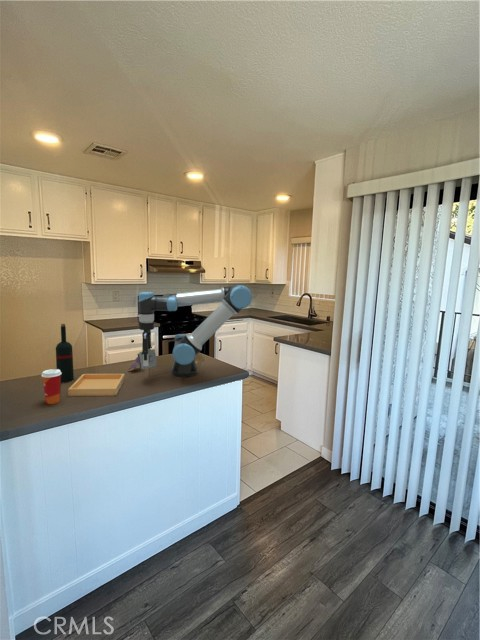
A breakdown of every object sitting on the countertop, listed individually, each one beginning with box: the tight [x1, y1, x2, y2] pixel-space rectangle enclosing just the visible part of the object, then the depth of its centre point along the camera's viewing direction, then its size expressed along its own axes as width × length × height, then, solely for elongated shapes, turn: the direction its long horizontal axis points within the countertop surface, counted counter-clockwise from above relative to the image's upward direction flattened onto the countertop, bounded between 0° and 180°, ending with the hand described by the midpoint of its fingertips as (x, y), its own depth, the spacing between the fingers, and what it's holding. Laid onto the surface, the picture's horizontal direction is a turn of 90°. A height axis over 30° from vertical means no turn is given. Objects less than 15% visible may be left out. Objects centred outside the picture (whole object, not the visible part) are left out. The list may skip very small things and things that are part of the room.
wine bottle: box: [55, 323, 75, 384], centre depth 166 cm, size 8×10×30 cm
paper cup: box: [40, 368, 62, 405], centre depth 141 cm, size 8×8×14 cm
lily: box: [127, 356, 144, 372], centre depth 186 cm, size 12×12×10 cm
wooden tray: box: [67, 373, 126, 397], centre depth 159 cm, size 21×21×4 cm
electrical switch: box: [137, 348, 158, 370], centre depth 170 cm, size 9×5×9 cm, turn 141°
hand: (147, 363), depth 170 cm, fingers closed on electrical switch, 9 cm apart
